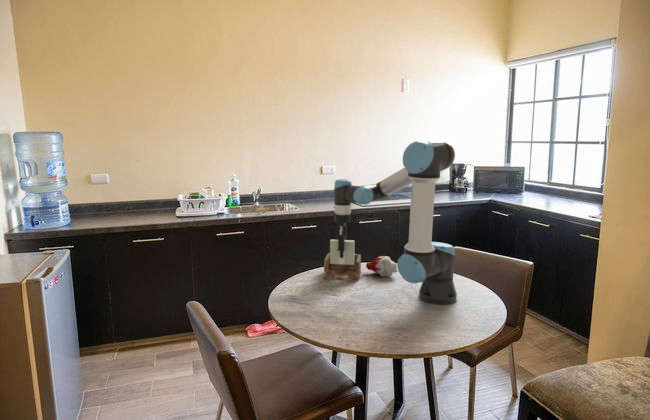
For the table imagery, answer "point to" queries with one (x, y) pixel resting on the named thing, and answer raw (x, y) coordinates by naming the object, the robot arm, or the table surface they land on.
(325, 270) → the cabinet
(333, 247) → the door
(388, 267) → the white and red lump
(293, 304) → the table surface
